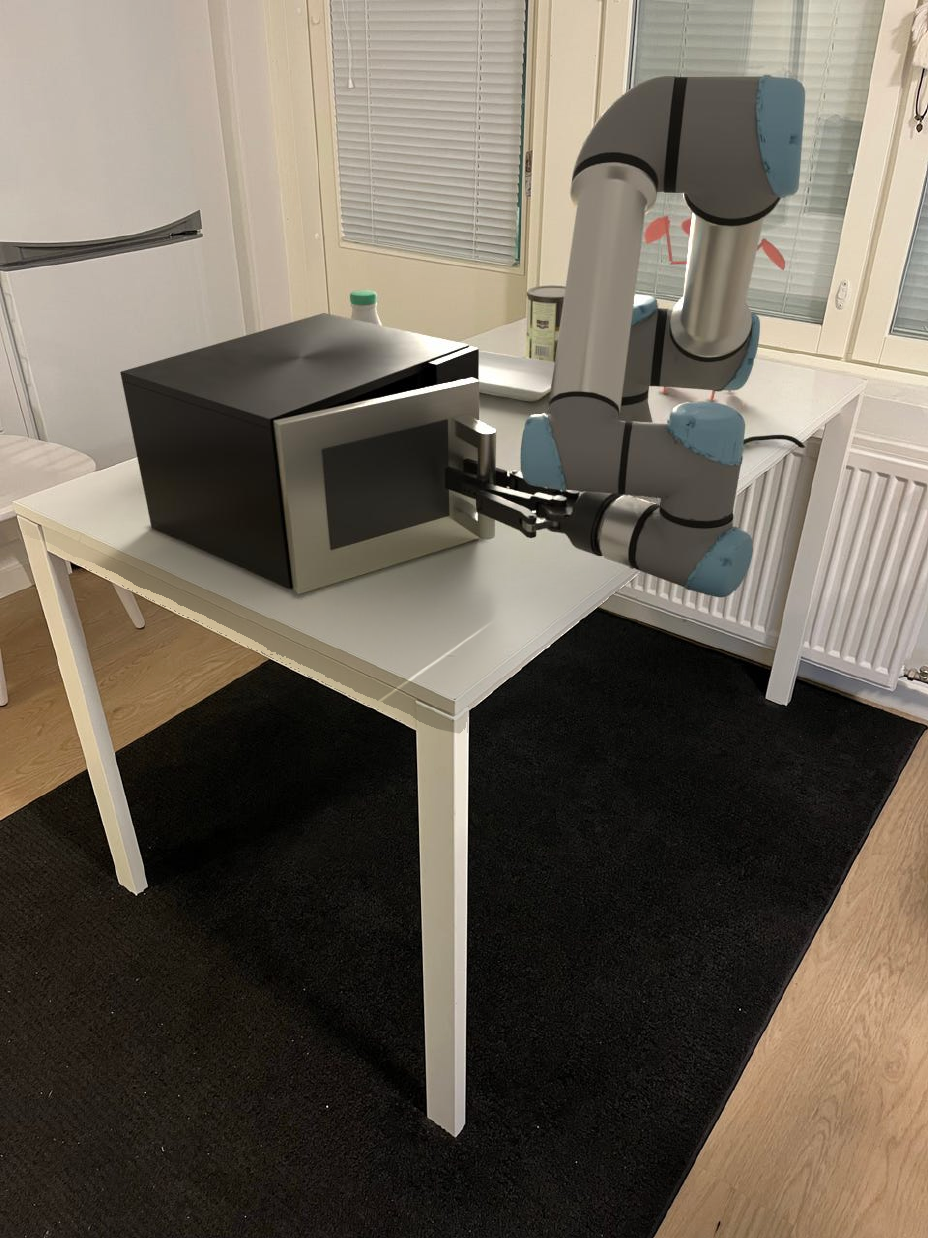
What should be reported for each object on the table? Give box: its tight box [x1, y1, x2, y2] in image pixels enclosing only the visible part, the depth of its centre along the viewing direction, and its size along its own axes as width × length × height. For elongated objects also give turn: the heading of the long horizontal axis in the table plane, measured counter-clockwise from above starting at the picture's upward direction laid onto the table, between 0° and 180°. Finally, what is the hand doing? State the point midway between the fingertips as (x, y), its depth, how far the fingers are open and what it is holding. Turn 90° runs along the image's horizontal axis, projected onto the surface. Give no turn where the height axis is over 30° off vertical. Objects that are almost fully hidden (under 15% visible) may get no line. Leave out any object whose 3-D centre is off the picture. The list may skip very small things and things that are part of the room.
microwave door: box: [273, 378, 497, 595], centre depth 114 cm, size 9×27×22 cm, turn 123°
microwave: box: [119, 312, 480, 591], centre depth 130 cm, size 30×36×22 cm
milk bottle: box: [349, 289, 383, 326], centre depth 168 cm, size 8×8×20 cm
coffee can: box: [525, 285, 566, 362], centre depth 191 cm, size 10×10×14 cm
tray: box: [479, 349, 555, 403], centre depth 183 cm, size 17×31×4 cm, turn 60°
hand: (456, 473), depth 120 cm, fingers closed on microwave door, 3 cm apart
